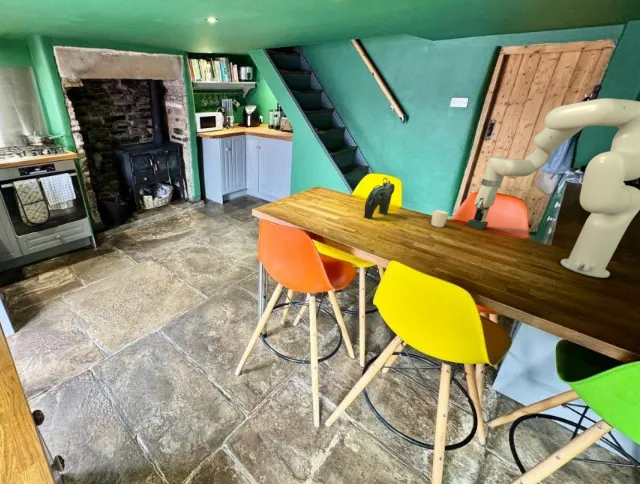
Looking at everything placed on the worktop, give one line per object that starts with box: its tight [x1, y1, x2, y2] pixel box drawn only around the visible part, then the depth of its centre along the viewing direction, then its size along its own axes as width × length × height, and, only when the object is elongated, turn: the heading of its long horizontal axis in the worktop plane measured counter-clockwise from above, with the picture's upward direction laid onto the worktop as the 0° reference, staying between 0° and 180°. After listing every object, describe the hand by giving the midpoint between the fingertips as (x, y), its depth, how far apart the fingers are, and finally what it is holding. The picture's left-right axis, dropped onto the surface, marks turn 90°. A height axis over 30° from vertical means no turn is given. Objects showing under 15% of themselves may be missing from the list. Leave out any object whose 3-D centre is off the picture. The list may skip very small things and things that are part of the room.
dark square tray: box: [466, 218, 489, 230], centre depth 150 cm, size 6×6×3 cm
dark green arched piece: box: [363, 177, 395, 220], centre depth 155 cm, size 20×6×20 cm, turn 128°
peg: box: [475, 208, 489, 222], centre depth 148 cm, size 3×3×6 cm
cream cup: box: [430, 209, 450, 228], centre depth 149 cm, size 7×7×7 cm
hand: (479, 219), depth 149 cm, fingers closed on peg, 3 cm apart
